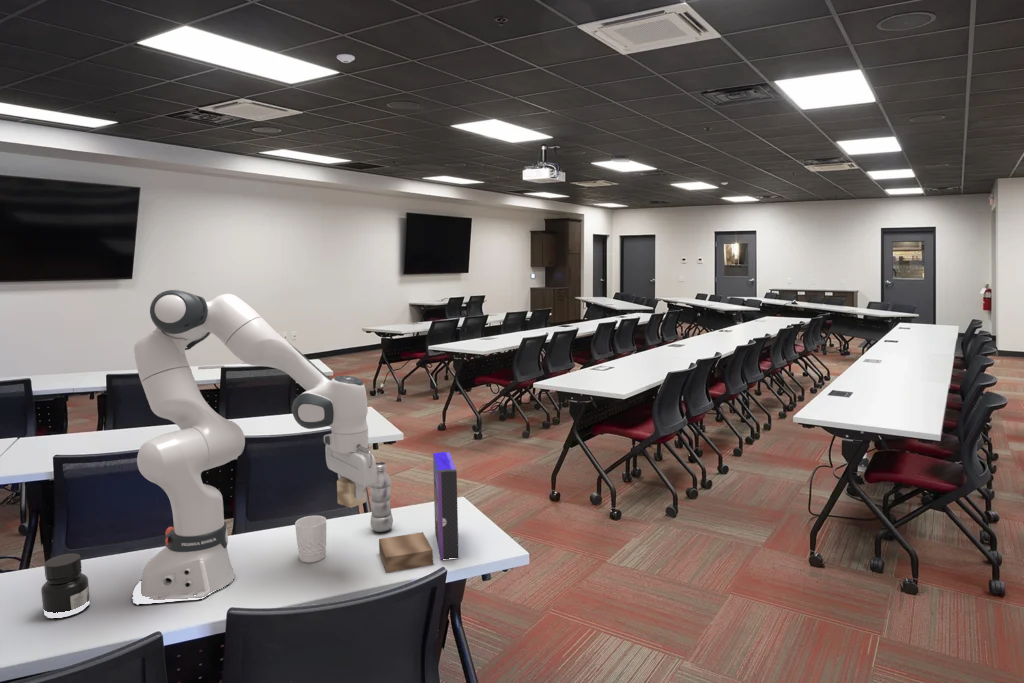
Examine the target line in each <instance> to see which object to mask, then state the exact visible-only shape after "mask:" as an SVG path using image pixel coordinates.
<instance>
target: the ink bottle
mask: <svg viewBox="0 0 1024 683" xmlns="http://www.w3.org/2000/svg"><path fill="white" fill-rule="evenodd" d="M43 566H44V576H45V580H46V582H45V583H44V584H42V587H41V602H42V610H43V609H44V610H45V611H47V612H53V613H56V612H57V613H58V612H65V611H70V610H73V609H76V608H78V607H80V606H82V605H84V604H85V603H86V602H88V601H89V599H90V600H91V594H90V586H89V585H90V584H89V578H88V576H87V575H86V574H84V573H82V570H83V569H82V568H83V567H82V560H81V555H80V554H79V553H65V554H59V555H56V556H54V557H51V558H49V559H47V560H46V561H44V564H43Z"/></svg>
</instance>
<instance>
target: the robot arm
mask: <svg viewBox="0 0 1024 683" xmlns="http://www.w3.org/2000/svg"><path fill="white" fill-rule="evenodd" d="M149 314H150V319H151V321H152V323H153V324H154V326H155V327H156V328H155V329H154V330H153V331H152V332H149V333H147V334H145V335H143V336H141V337H140V338H139V339H137V341H136V342H135V344H134V347H133V352H134V359H135V365H136V368H137V373H138V376H139V379H140V383H141V385H142V388H143V390H144V393H145V397H146V400H147V401H148V404H149V406H150V407H149V408H150V409H151V410H150V411H152V413H153V414H154V415H156V416H157V417H159V418H161V419H165V420H169V421H171V422H173V423H174V424H176V425H177V426H178V428H179V430H175V431H171V432H168V433H163V434H160V435H158V436H156V437H154V438H152V439H150V440H148V441H146V442H144V443H143V444H142V445H141V446H140V447H139V450H138V453H137V458H136V464H137V468H138V470H139V472H140V474H141V475H142V476H143V478H145V479H146V480H148V481H149V482H151V483H152V484H153V483H154V484H155V485H157V486H159V487H160V488H161V489H162V490H163V491H164V492H165V493H166V495H167V497H168V499H169V501H170V502H169V503H170V507H171V511H172V519H173V526H168V528H166V530H165V534H164V535H165V538H164V539H165V540H164V541H165V547H164V548H163V549H162V550H160V551H159V552H158V553H157V554H156V555H154V556H153V557H152V558H151V559H150V560H148V562H147V563H146V565H145V566H144V569H143V572H142V576H141V579H142V582H141V594H142V596H145V597H150V598H149V599H153V600H165V599H188V598H202V597H205V596H207V595H208V594H209V593H211V592H213V591H215V590H218V589H220V588H222V587H224V586H226V585H227V584H229V583H230V582H231V581H232V582H233V581H234V580H235V578H236V573H235V571H234V569H233V566H232V563H231V560H230V555H229V550H228V544H229V537H228V536H229V535H228V528H227V522H226V521H225V517H224V516H225V514H224V500H223V495H222V493H221V491H220V490H219V489H217V488H216V487H215V486H212V485H210V484H206V483H203V480H202V477H201V476H202V473H203V472H204V471H205V472H206V471H209V470H210V469H213V468H216V467H220V466H224V465H226V464H227V463H230V462H231V461H233V460H235V459H236V458H239V456H241V455H242V454H243V452H244V449H245V446H246V445H245V444H246V436H245V434H244V432H243V429H242V428H241V427H240V425H238V424H237V423H236V422H235V421H232V420H229V419H226V417H223V416H222V415H220V414H219V413H218V412H216V411H215V410H214V409H213V408H212V407H211V406H210V404H208V402H207V401H206V400H205V398H204V397H203V395H202V392H201V391H200V389H199V386H198V384H197V382H196V380H195V377H194V375H193V371H192V369H191V366H190V364H189V361H188V358H187V356H186V351H189V350H190V349H192V348H193V347H195V346H196V345H197V344H199V343H200V342H203V341H204V340H206V339H207V338H208V337H209V336H210V335H211V334H212V335H214V336H215V337H216V338H218V339H219V340H220V342H221V343H223V344H224V346H225V347H226V348H227V349H228V350H229V351H230V352H231V353H232V354H233V355H234V356H235V357H236V358H237V359H239V360H240V361H242V362H243V363H244V364H246V365H250V366H258V367H268V368H273V369H277V370H280V371H282V372H284V373H286V375H289V377H290V378H291V379H293V380H294V381H295V382H296V383H297V384H298V385H299V386H300V387H302V388H303V389H304V390H305V391H304V392H302V393H301V394H299V395H298V396H297V397H295V399H293V403H292V406H291V411H292V415H293V418H294V420H295V421H296V423H297V424H298V425H299V426H301V427H302V428H304V429H308V430H313V429H314V430H315V429H321V428H325V427H330V429H331V433H328V434H325V435H323V443H324V444H325V461H326V462H325V463H326V466H327V468H328V470H330V471H332V472H334V473H336V474H337V477H338V480H340V479H343V478H347V479H349V480H351V481H353V482H355V486H357V487H356V491H354V497H355V498H356V499H362V498H363V491H364V489H365V487H366V488H370V486H373V485H375V484H376V482H377V470H376V463H377V462H376V458H375V456H374V455H373V454H372V453H371V451H370V448H369V446H370V445H369V425H368V422H367V416H368V397H367V390H366V387H365V386H366V385H365V383H364V382H363V380H361V379H359V377H355V376H351V375H337V376H335V377H333V378H332V377H329V376H328V375H326V373H324V372H323V371H322V370H321V369H320V368H319V367H317V366H316V365H315V364H314V363H313V362H312V361H311V360H310V359H309V358H308V357H306V355H304V354H303V353H302V352H301V351H300V350H299V349H298V348H296V347H295V346H293V344H291V343H290V342H289V341H287V340H286V339H285V338H284V337H283V336H281V335H280V334H279V333H278V332H277V331H276V330H275V328H273V327H272V326H271V325H269V323H268V322H267V321H266V320H265V319H264V318H263V317H262V316H261V315H260V314H259V313H258V311H256V310H255V309H254V308H253V307H251V306H250V305H249V304H248V303H247V302H246V301H244V300H243V299H241V298H240V297H238V296H237V295H235V294H233V293H222V294H220V295H217V296H216V297H214V298H213V299H211V300H209V301H207V300H206V299H205V298H204V297H202V296H199V295H197V294H192V293H191V292H187V291H183V290H179V289H170V290H169V289H168V290H166V291H165V290H164V291H162V292H160V293H158V294H157V295H156V296H155V297H154V298H153V299H152V301H151V304H150V308H149ZM234 577H235V578H234ZM233 579H234V580H233ZM232 582H231V583H232ZM231 583H230V584H231ZM230 584H229V585H230ZM226 587H227V586H226ZM224 588H225V587H224ZM222 589H223V588H222ZM220 590H221V589H220ZM218 591H219V590H218ZM194 595H196V596H194Z"/></svg>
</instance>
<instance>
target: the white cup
mask: <svg viewBox="0 0 1024 683" xmlns="http://www.w3.org/2000/svg"><path fill="white" fill-rule="evenodd" d="M294 526H295V534H296V545H297V550H298V556H299V561H301V562H302V563H316V562H319V561H321V560H323V559H325V557H326V556H327V551H326V550H327V549H326V548H327V547H326V546H327V518H326V517H325V516H322V515H308V516H304V517H301V518H298V519H297V520H296V521H295V523H294Z"/></svg>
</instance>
